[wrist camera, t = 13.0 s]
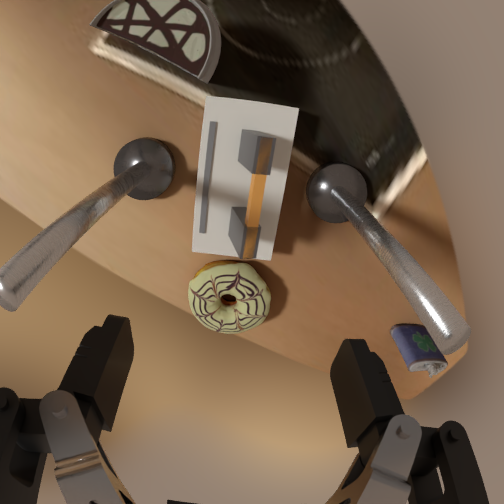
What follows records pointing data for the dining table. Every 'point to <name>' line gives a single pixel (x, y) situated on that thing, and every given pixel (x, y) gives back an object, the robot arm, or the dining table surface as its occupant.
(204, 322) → the decorated donut
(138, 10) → the food container
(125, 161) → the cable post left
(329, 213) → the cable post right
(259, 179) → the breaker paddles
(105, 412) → the robot arm
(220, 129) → the switch panel
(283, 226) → the dining table surface
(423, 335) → the flask
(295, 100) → the dining table surface
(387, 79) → the dining table surface
